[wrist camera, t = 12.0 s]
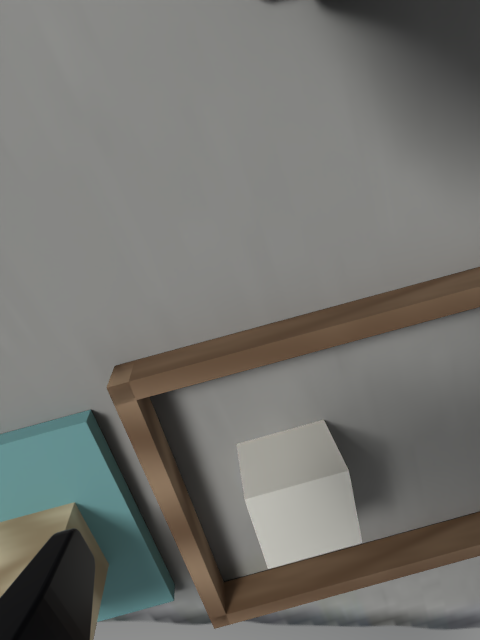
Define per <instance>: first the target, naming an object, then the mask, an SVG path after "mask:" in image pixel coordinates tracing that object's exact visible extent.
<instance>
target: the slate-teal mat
mask: <svg viewBox="0 0 480 640" xmlns="http://www.w3.org/2000/svg"><path fill="white" fill-rule="evenodd" d="M74 502H75V504H76V506H77V507H78V509H79V511H80V513H81V515H82V516H83V518H84V520H85V522H86V524H87V525H88V527H89V529H90V531H91V533H92V535H93V536H94V538H95V540H96V542H97V544H98V545H99V547H100V549H101V551H102V553H103V554H104V556H105V558H106V560H107V562H108V563H109V567H108V571H107V576H106V581H105V586H104V591H103V595H102V600H101V605H100V610H99V615H98V619H97V622H99V621H102V620H106V619H109V618H113V617H117V616H120V615H124V614H128V613H131V612H135V611H139V610H142V609H146V608H149V607H153V606H157V605H160V604H164V603H168V602H171V601H174V589H175V584H174V582H173V580H172V578H171V576H170V574H169V572H168V570H167V568H166V566H165V564H164V561H163V559H162V557H161V555H160V553H159V551H158V549H157V547H156V545H155V543H154V541H153V539H152V536H151V534H150V532H149V530H148V528H147V526H146V524H145V522H144V520H143V518H142V516H141V513H140V511H139V509H138V507H137V505H136V503H135V501H134V499H133V497H132V495H131V493H130V490H129V488H128V486H127V484H126V482H125V480H124V478H123V476H122V474H121V472H120V470H119V468H118V465H117V463H116V461H115V459H114V457H113V455H112V453H111V451H110V449H109V447H108V445H107V442H106V440H105V438H104V436H103V434H102V432H101V430H100V428H99V426H98V424H97V422H96V419H95V417H94V415H93V413H92V411H91V410H88V411H84V412H81V413H77V414H73V415H70V416H66V417H62V418H59V419H55V420H51V421H48V422H44V423H40V424H37V425H33V426H29V427H26V428H22V429H18V430H14V431H11V432H7V433H3V434H0V522H3V521H6V520H10V519H14V518H18V517H21V516H25V515H29V514H33V513H36V512H40V511H44V510H47V509H51V508H55V507H59V506H62V505H66V504H70V503H74Z"/></svg>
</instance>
